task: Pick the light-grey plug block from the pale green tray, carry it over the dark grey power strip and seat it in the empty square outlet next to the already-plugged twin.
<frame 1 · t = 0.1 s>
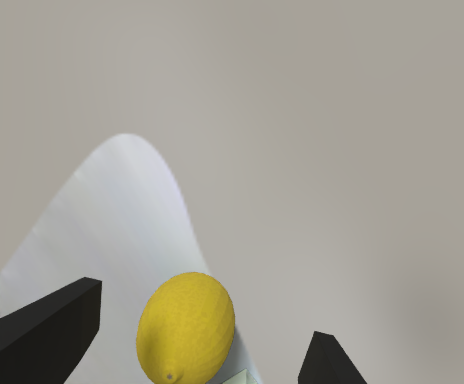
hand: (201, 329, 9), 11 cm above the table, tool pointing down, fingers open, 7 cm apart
lemon: (201, 289, 20), on the table
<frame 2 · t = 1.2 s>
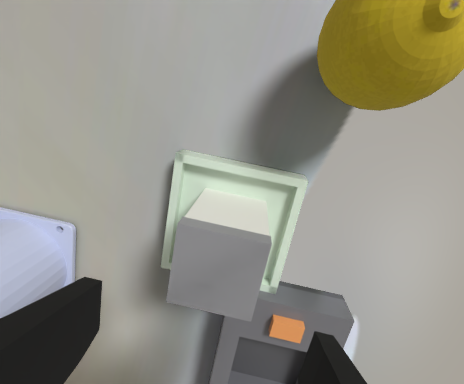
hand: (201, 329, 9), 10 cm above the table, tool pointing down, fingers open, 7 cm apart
tray: (231, 218, 18), on the table
lemon: (353, 60, 15), on the table
power strip: (260, 374, 22), on the table
plug: (230, 222, 18), point 1 cm above the table, touching tray
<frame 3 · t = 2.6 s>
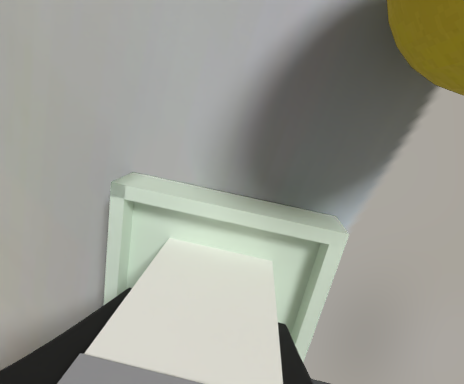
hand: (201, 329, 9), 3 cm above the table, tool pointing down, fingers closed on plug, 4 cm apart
tray: (214, 281, 11), on the table
lemon: (435, 14, 8), on the table
plug: (211, 292, 11), point 1 cm above the table, touching gripper, tray
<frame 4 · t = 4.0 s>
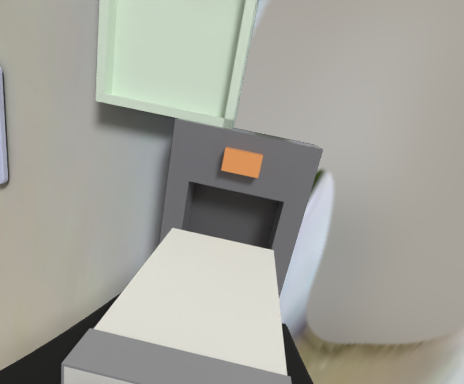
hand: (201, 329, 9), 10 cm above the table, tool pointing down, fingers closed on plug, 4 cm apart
tray: (180, 44, 15), on the table
power strip: (223, 257, 19), on the table
plug: (213, 282, 11), point 8 cm above the table, touching gripper
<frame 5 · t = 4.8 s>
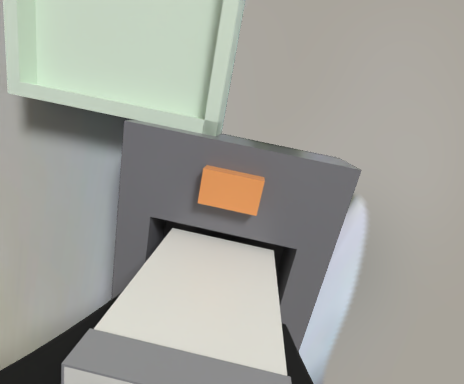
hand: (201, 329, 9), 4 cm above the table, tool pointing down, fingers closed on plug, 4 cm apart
tray: (138, 7, 10), on the table
power strip: (209, 311, 14), on the table
plug: (213, 282, 11), point 2 cm above the table, touching gripper
when the fingers open (3 cm above the table, at t = 5.4 s): plug stays where it is, resting on power strip.
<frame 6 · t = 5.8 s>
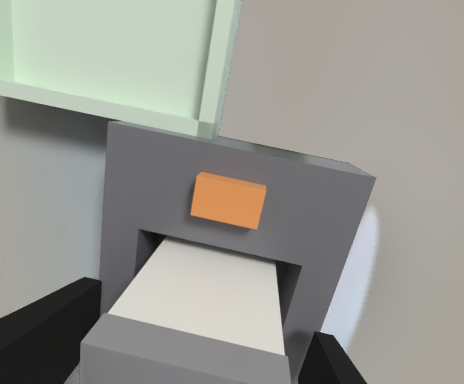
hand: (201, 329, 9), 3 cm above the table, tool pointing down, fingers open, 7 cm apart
power strip: (205, 327, 13), on the table
plug: (216, 275, 11), resting on power strip
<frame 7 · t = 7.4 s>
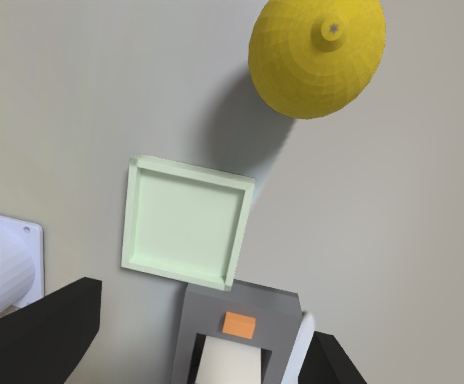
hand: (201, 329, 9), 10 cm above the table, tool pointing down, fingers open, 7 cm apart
tray: (189, 219, 19), on the table
lemon: (297, 70, 16), on the table
power strip: (223, 369, 23), on the table
plug: (230, 345, 21), resting on power strip
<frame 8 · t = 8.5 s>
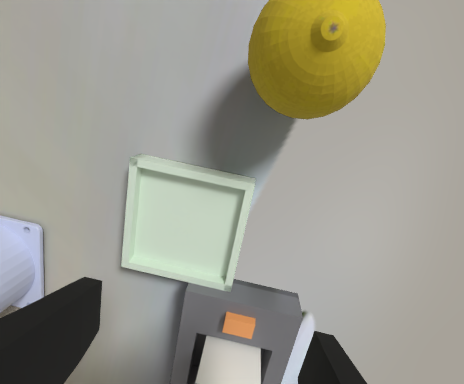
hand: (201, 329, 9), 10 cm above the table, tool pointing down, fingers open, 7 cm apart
tray: (189, 219, 19), on the table
lemon: (297, 70, 16), on the table
power strip: (223, 369, 23), on the table
plug: (230, 345, 21), resting on power strip
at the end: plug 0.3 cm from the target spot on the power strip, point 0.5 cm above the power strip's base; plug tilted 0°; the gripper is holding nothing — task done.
